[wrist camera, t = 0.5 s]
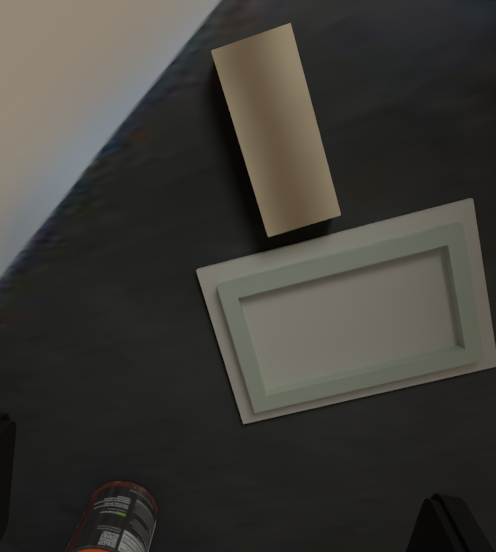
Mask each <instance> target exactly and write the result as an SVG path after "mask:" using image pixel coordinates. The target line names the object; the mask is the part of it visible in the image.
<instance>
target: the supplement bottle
mask: <svg viewBox="0 0 496 552" xmlns="http://www.w3.org/2000/svg"><path fill="white" fill-rule="evenodd" d="M157 514H158V509H157V505H156V502H155V499H154V498H153V496H152V495H151V494H150V492H149V491H147V490H146V489H145V488H144V487H142V486H140V485H138V484H136V483H133V482H129V481H112V482H109V483H107V484H105V485H103V486H101V487H100V488H99V489H97V490H96V491H95V492H94V494H93V495H92V497H91V499H90V500H89V502H88V504H87V506H86V508H85V510H84V512H83V515H82V517H81V519H80V521H79V523H78V525H77V527H76V529H75V532H74V534H73V536H72V538H71V540H70V542H69V544H68V546H67V548H66V550H65V552H149V548H150V544H151V541H152V537H153V533H154V529H155V525H156V521H157Z"/></svg>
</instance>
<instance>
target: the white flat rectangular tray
mask: <svg viewBox="0 0 496 552" xmlns="http://www.w3.org/2000/svg"><path fill="white" fill-rule="evenodd" d="M196 272H197V275H198V279H199V282H200V285H201V288H202V292H203V295H204V298H205V301H206V305H207V308H208V311H209V314H210V318H211V321H212V324H213V327H214V331H215V334H216V337H217V340H218V344H219V347H220V350H221V353H222V357H223V360H224V363H225V366H226V370H227V373H228V376H229V379H230V383H231V386H232V389H233V392H234V396H235V399H236V402H237V405H238V409H239V412H240V415H241V418H242V422H243V424H246V423H251V422H255V421H260V420H264V419H268V418H273V417H277V416H282V415H286V414H290V413H295V412H299V411H304V410H308V409H312V408H317V407H321V406H326V405H330V404H334V403H339V402H343V401H348V400H352V399H356V398H361V397H365V396H370V395H374V394H378V393H383V392H387V391H392V390H396V389H400V388H405V387H409V386H414V385H418V384H422V383H427V382H431V381H436V380H440V379H444V378H449V377H453V376H458V375H462V374H466V373H471V372H475V371H480V370H484V369H488V368H493V367H496V347H495V340H494V333H493V327H492V320H491V314H490V307H489V300H488V294H487V287H486V281H485V274H484V267H483V261H482V254H481V248H480V241H479V234H478V228H477V221H476V215H475V208H474V201H473V199H472V198H468V199H464V200H460V201H457V202H453V203H449V204H445V205H441V206H437V207H433V208H430V209H426V210H422V211H418V212H414V213H410V214H407V215H403V216H399V217H395V218H391V219H387V220H383V221H380V222H376V223H372V224H368V225H364V226H360V227H357V228H353V229H349V230H345V231H341V232H337V233H334V234H330V235H326V236H322V237H318V238H314V239H310V240H307V241H303V242H299V243H295V244H291V245H287V246H284V247H280V248H276V249H272V250H268V251H264V252H260V253H257V254H253V255H249V256H245V257H241V258H237V259H234V260H230V261H226V262H222V263H218V264H214V265H210V266H207V267H203V268H199V269H197V270H196Z"/></svg>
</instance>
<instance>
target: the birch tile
mask: <svg viewBox="0 0 496 552" xmlns="http://www.w3.org/2000/svg"><path fill="white" fill-rule="evenodd" d="M211 52H212V55H213V59H214V62H215V65H216V68H217V72H218V75H219V78H220V81H221V85H222V88H223V91H224V95H225V98H226V101H227V104H228V108H229V111H230V114H231V118H232V121H233V124H234V127H235V131H236V134H237V137H238V140H239V144H240V147H241V150H242V154H243V157H244V160H245V163H246V167H247V170H248V173H249V176H250V180H251V183H252V186H253V190H254V193H255V196H256V199H257V203H258V206H259V209H260V212H261V216H262V219H263V222H264V226H265V229H266V232H267V235H268V237H271V236H274V235H277V234H281V233H284V232H287V231H291V230H294V229H297V228H300V227H304V226H307V225H310V224H314V223H317V222H320V221H324V220H327V219H330V218H333V217H337V216H340V215H341V213H340V209H339V205H338V202H337V198H336V194H335V190H334V186H333V183H332V179H331V175H330V171H329V167H328V164H327V160H326V156H325V152H324V148H323V145H322V141H321V137H320V133H319V129H318V126H317V122H316V118H315V114H314V110H313V107H312V103H311V99H310V95H309V92H308V88H307V84H306V80H305V76H304V73H303V69H302V65H301V61H300V57H299V54H298V50H297V46H296V42H295V38H294V35H293V31H292V27H291V23H289V24H286V25H283V26H281V27H278V28H275V29H272V30H269V31H266V32H263V33H260V34H258V35H255V36H252V37H249V38H246V39H243V40H240V41H237V42H235V43H232V44H229V45H226V46H223V47H220V48H217V49H214V50H211Z"/></svg>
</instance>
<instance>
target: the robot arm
mask: <svg viewBox="0 0 496 552" xmlns="http://www.w3.org/2000/svg"><path fill="white" fill-rule="evenodd" d="M15 437H16V423H15V422H13V421H10V417H9V415H8V414H7V413H3V412H0V541H1V539H2V537H3V535H4V533H5V530H6V528H7V524H8V517H9V505H10V494H11V482H12V471H13V459H14V448H15ZM406 552H494V550H493V549H492V547H491V545H490V543H489V542H488V540H487V538H486V537H485V535H484V533H483V532H482V530H481V528H480V527H479V525H478V523H477V522H476V520H475V518H474V517H473V515H472V513H471V512H470V510H469V508H468V507H467V505H466V503H465V502H464V501H463V499H461V498H459V497H454V496H448V495H443V494H438V493H436V494H434V495H433V496H432V497H431V499H425V500H424V502H423V504H422V507H421V510H420V513H419V516H418V518H417V521H416V524H415V527H414V530H413V533H412V536H411V539H410V542H409V544H408V547H407V550H406Z"/></svg>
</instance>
